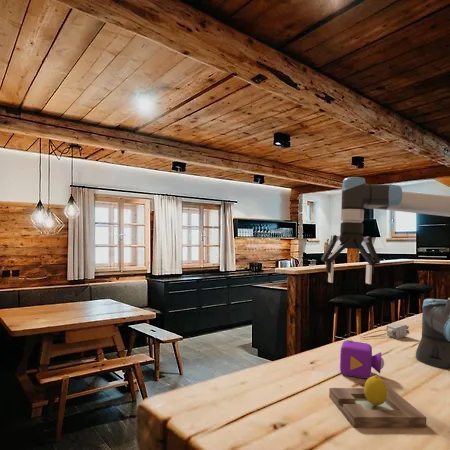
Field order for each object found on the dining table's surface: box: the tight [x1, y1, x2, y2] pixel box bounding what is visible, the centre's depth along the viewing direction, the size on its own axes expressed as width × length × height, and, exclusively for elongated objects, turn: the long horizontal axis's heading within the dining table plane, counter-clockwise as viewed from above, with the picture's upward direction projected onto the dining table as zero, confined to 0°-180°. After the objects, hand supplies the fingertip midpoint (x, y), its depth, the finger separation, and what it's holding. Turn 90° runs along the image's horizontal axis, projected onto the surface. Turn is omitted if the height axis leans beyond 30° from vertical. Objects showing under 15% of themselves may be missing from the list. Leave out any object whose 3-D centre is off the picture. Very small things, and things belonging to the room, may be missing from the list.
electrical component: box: [360, 321, 410, 340], centre depth 167 cm, size 24×6×5 cm, turn 112°
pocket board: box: [328, 387, 427, 429], centre depth 96 cm, size 18×16×2 cm
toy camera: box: [339, 338, 385, 380], centre depth 122 cm, size 11×14×10 cm
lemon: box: [363, 374, 388, 407], centre depth 96 cm, size 6×6×8 cm
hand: (349, 283), depth 129 cm, fingers open, 13 cm apart
